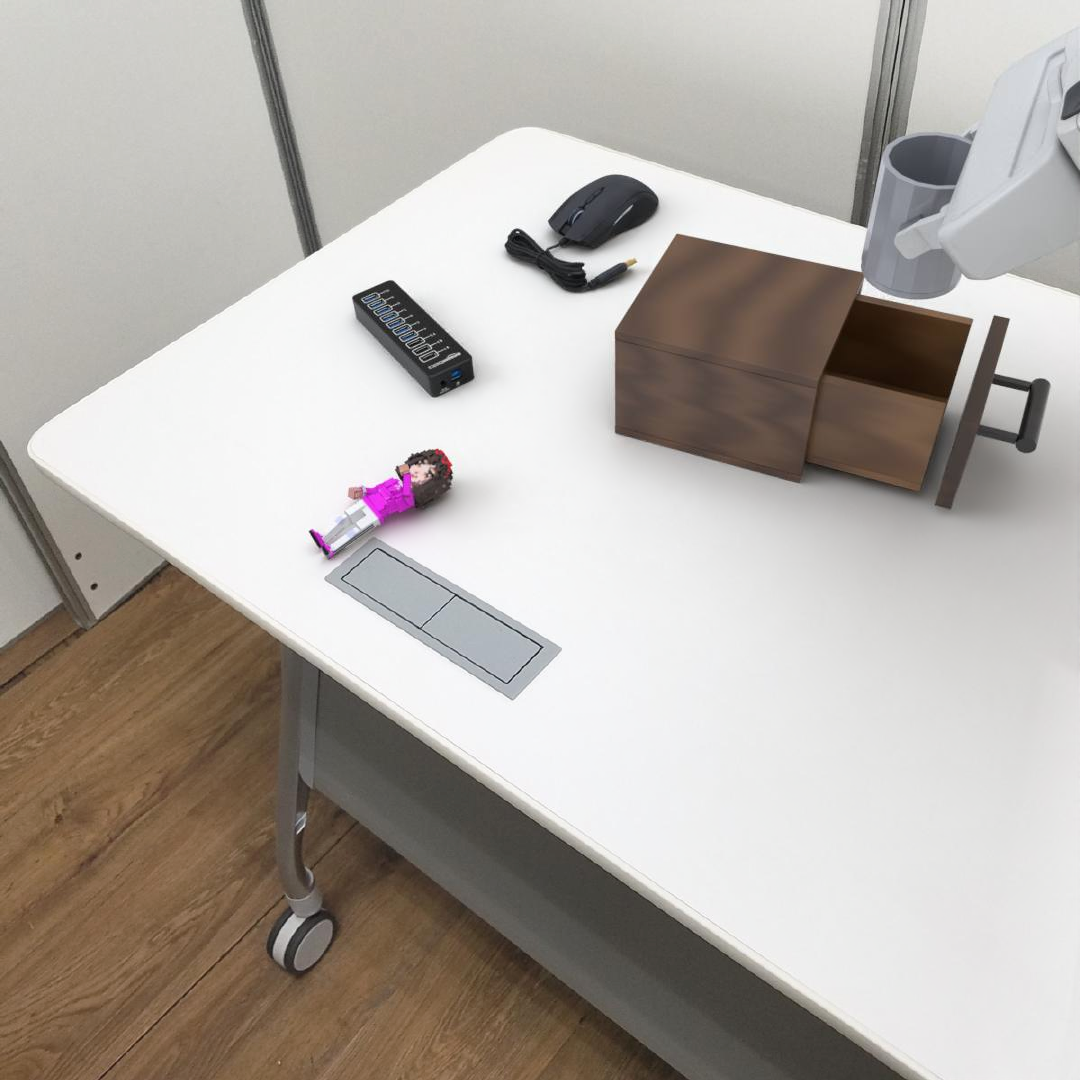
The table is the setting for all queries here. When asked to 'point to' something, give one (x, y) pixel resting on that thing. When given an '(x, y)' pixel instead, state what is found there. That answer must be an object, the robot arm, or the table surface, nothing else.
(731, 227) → the table surface
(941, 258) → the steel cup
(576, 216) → the computer mouse
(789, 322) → the cabinet
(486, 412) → the table surface
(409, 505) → the character figurine
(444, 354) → the multiport hub
